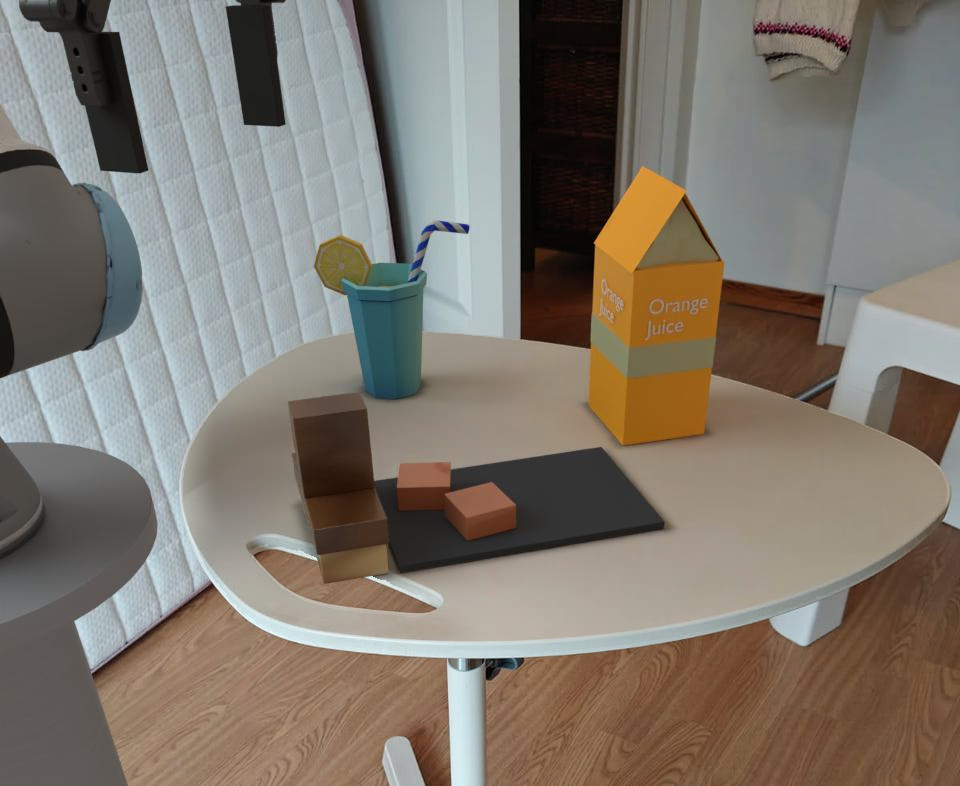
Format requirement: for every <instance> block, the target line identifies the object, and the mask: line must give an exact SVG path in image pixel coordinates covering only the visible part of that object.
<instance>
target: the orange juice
mask: <svg viewBox="0 0 960 786" xmlns="http://www.w3.org/2000/svg"><path fill="white" fill-rule="evenodd" d="M699 217H700V216H699V215H698V214H697V211H696V210H695V208H694V206H693V205H692V202H691V200H690V199H689V197H688V195H687V189H685V188H682V186H679V185H678V184H675V183H674V182H672V181H671V180H668V179H667V178H665V177H664V176H661V175H660V174H658V173H656V172H655V171H652V170H651V169H649V168H647V167H645V166H644V165H642V166H641V168H640V169H639V171H638V173H637V174H636V175H635V177H634V179H633V180H632V182H631V184H630V185H629V186H628V188H627V189H626V191H625V193H624V195H623V196H622V198H621V199H620V201H619V203H618V204H617V206H616V207H615V208H614V210H613V212H612V213H611V215H610V217H609V218H608V219H607V222H606V223H605V225H604V226H603V227H602V229H601V231H600V233H599V234H598V235H597V237H596V239H595V240H594V242H593V244H594V263H593V265H594V266H593V267H594V268H593V287H592V312H591V321H590V356H589V357H590V359H589V378H588V379H589V382H588V407H589V408H590V409H591V410H592V412H593V413H594V414H595V415H596V416H597V417H598V418H599V420H600V421H601V422H602V423H603V424H604V426H606V428H607V429H608V430H609V431H610V432H611V434H612V435H613V436H614V437H615V438H616V439H617V441H618V442H619V443H620V444H621V445H622V446H630V445H638V444H644V443H652V442H658V441H665V440H671V439H679V438H685V437H693V436H700V435H705V431H706V430H705V429H706V422H707V413H708V406H709V396H710V388H711V380H712V371H713V368H714V360H715V351H716V343H717V330H718V329H717V328H718V321H719V320H718V319H719V313H720V302H721V296H722V295H721V294H722V287H723V277H724V270H725V261H724V260H723V259H722V257H721V255H720V254H719V252H718V250H717V248H716V247H715V245H714V242H713V241H712V239H711V237H710V236H709V234H708V232H707V230H706V229H705V226H704V225H703V223H702V221H701V219H700V218H699Z"/></svg>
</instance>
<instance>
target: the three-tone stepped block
mask: <svg viewBox="0 0 960 786" xmlns="http://www.w3.org/2000/svg"><path fill="white" fill-rule="evenodd" d="M287 408H288V415H289V421H290V427H291V434H292V443H293V447H294V452H291V459H292V466H293V473H294V478H295V481H296V484H297V488H298V492H299V496H300V502H301V507H302V511H303V515H304V517H305V521H306V525H307V528H308V531H309V535H310V539H311V542H312V546H313V550H314V553H315V557H316V561H317V564H318V569H319V571H320V575H321V579H322V582H323V584H325V585H326V584H327V585H328V584H333V583H338V582H344V581H345V582H346V581H351V580H356V579H363V578H369V577H373V576H380V575H381V576H382V575H385V574H389V573H390V569H389V560H388V549H387V545H388V544H389V532H388V521H387V517H386V515H385V512H384V510H383V507H382V505H381V502H380V500H379V497H378V495H377V492H376V490H375V484H374V481H375V475H374V465H373V454H372V446H371V445H372V444H371V435H370V424H369V414H368V413H369V412H368V407H367V405H366V403H365V401H364V398H363V397H362V394H361V392H360V391H356V392H349V393H348V392H347V393H341V394H333V395H332V394H331V395H327V396H318V397H310V398H303V399H295V400H288V401H287Z"/></svg>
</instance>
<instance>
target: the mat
mask: <svg viewBox="0 0 960 786" xmlns="http://www.w3.org/2000/svg"><path fill="white" fill-rule="evenodd" d="M451 475H452V492H454V491H458V490H462V489H466V488H470V487H474V486H478V485H482V484H486V483H490V482H493V483H494V484H495V485H496V486H497V487H498V488H499V489H500V490H501V491H502V492H503V493H504V494H505V495H506V496H507V497H508V498H509V499H510V500H512V501H513V502H514V503H515V504H516V528H515V529H511V530H507V531H504V532H500V533H496V534H492V535H489V536H485V537H481V538H478V539H474V540H470V541H467V540H466V539H465V538H464V537H463V536H462V535H461V534H460V532H459V531H458V530H457V529H456V528H455V527H454V526H453V525H452V524H451V523H450V522H449V520H448V519H447V518H446V517H445V510H412V511H399V510H398V498H397V481H398V476H397V477H391V478H390V477H389V478H384V479H378V480H374V484H375V490H376V492H377V495H378V497H379V500H380V502H381V505H382V507H383V510H384V512H385V515H386V517H387V521H388V532H389V544H387V545H388V547H389V549H390V553H391V555H392V557H393V560H394V562H395V565H396V567H397V570H398V572H399V574H403V573H408V572H413V571H420V570H426V569H427V570H428V569H431V568H432V569H433V568H437V567H445V566H449V565H456V564H461V563H467V562H472V561H473V562H474V561H479V560H485V559H490V558H496V557H503V556H509V555H515V554H520V553H526V552H532V551H538V550H543V549H551V548H555V547H556V548H557V547H562V546H568V545H574V544H579V543H580V544H581V543H585V542H592V541H599V540H603V539H609V538H615V537H621V536H627V535H632V534H633V535H634V534H639V533H644V532H650V531H655V530H656V531H657V530H662V529H665V522H666V521H665V520H664V518H662V517H661V516H660V514H659V513H658V512H657V511H656V510H655V509H654V507H653V506H652V505H651V504H650V502H649V501H648V500H647V499H646V497H644V495H643V494H642V493H641V491H639V489H638V488H637V487H636V486H635V485H634V484H633V482H632V481H631V480H630V479H629V478H628V476H627V475H626V474H625V473H624V472H623V470H621V468H620V467H619V466H618V465H617V463H616V462H615V461H614V460H613V459H612V458H611V456H610V455H609V454H608V453H607V451H606V450H605V449H604V448H603V447H602V446H597V447H591V448H590V447H589V448H584V449H578V450H571V451H570V450H569V451H564V452H557V453H551V454H544V455H538V456H530V457H525V458H517V459H511V460H505V461H497V462H490V463H484V464H477V465H470V466H463V467H457V468H451Z"/></svg>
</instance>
